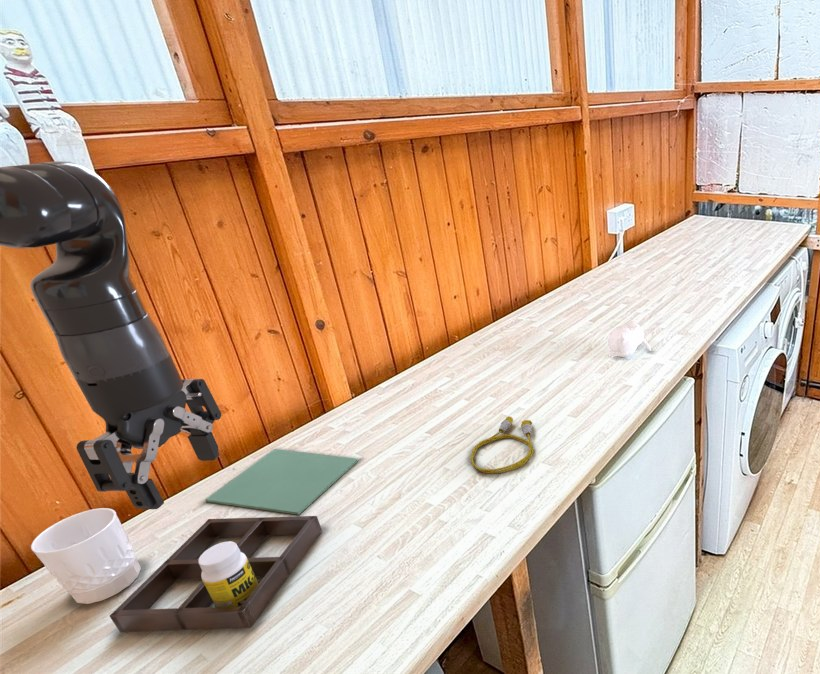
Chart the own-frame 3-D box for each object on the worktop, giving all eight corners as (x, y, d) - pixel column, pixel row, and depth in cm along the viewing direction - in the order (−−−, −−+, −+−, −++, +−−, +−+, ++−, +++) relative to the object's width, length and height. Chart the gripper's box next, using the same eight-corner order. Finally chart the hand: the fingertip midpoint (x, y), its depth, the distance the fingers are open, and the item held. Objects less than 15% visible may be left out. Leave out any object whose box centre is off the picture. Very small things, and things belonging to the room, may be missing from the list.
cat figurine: (632, 310, 137) (611, 325, 127) (663, 335, 136) (644, 352, 126) (617, 333, 142) (596, 349, 132) (647, 357, 141) (627, 375, 131)
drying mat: (206, 501, 87) (205, 499, 87) (275, 451, 99) (274, 448, 99) (298, 515, 84) (297, 512, 83) (358, 460, 96) (357, 458, 96)
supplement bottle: (244, 615, 67) (221, 568, 64) (208, 615, 67) (183, 568, 64) (269, 584, 72) (249, 538, 68) (235, 584, 72) (213, 538, 68)
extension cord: (558, 436, 102) (557, 427, 101) (502, 483, 90) (500, 474, 89) (512, 420, 108) (510, 411, 107) (452, 462, 95) (450, 453, 94)
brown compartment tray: (119, 632, 65) (108, 615, 64) (215, 533, 80) (208, 518, 79) (250, 628, 66) (242, 611, 64) (322, 530, 81) (316, 515, 79)
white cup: (144, 551, 77) (115, 499, 73) (148, 583, 72) (116, 528, 68) (69, 583, 72) (33, 529, 68) (67, 619, 67) (28, 563, 63)
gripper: (144, 334, 62) (197, 446, 68) (13, 397, 49) (94, 527, 55) (208, 332, 62) (254, 444, 68) (94, 394, 49) (165, 525, 55)
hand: (183, 481), depth 62 cm, fingers open, 8 cm apart
